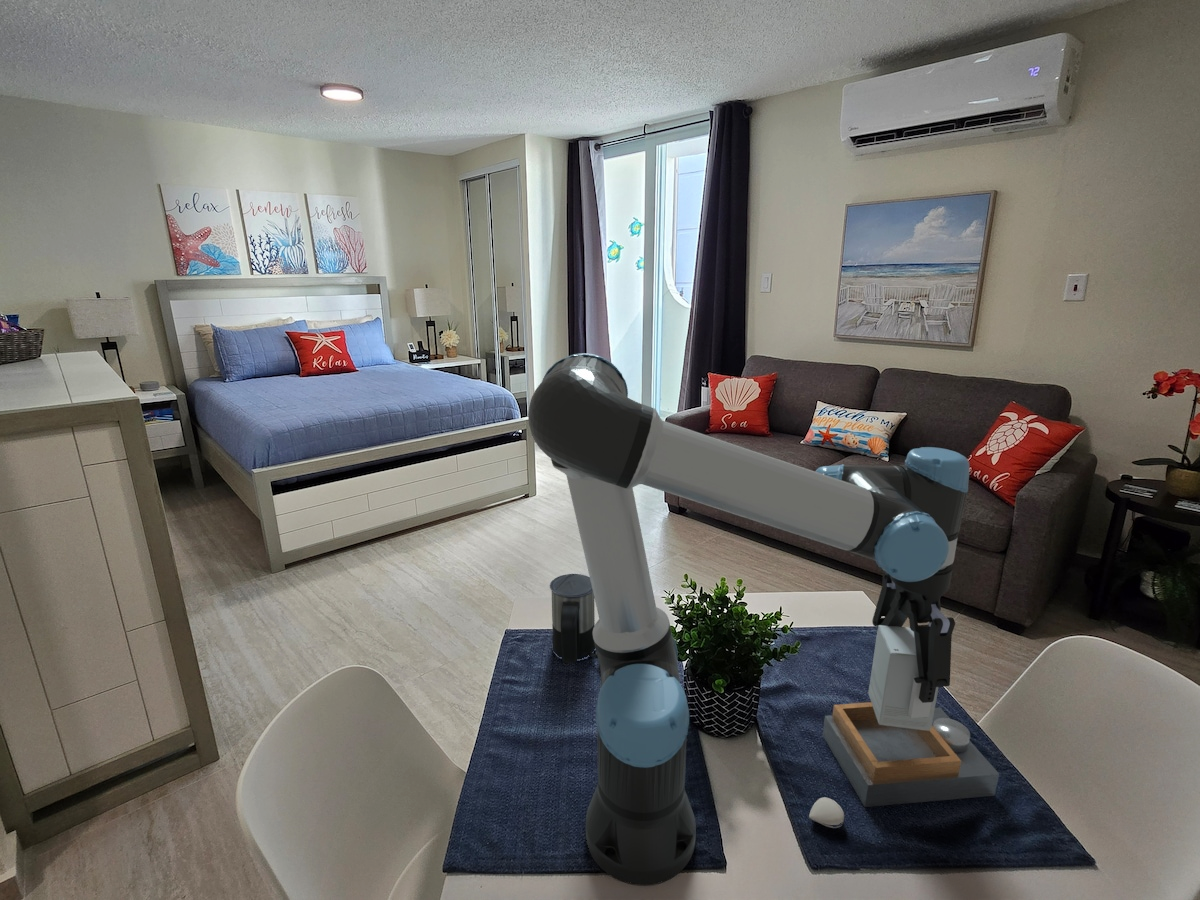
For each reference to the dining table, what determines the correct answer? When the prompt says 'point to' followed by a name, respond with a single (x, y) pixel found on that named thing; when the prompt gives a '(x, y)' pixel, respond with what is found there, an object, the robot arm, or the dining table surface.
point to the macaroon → (827, 812)
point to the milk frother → (573, 617)
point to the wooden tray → (906, 758)
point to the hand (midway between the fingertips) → (900, 694)
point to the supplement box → (896, 679)
